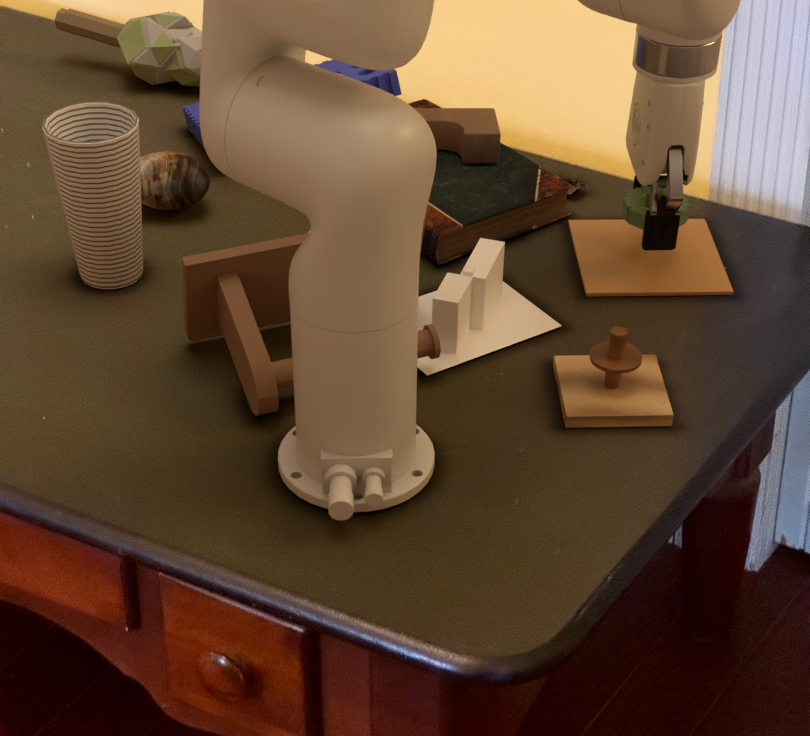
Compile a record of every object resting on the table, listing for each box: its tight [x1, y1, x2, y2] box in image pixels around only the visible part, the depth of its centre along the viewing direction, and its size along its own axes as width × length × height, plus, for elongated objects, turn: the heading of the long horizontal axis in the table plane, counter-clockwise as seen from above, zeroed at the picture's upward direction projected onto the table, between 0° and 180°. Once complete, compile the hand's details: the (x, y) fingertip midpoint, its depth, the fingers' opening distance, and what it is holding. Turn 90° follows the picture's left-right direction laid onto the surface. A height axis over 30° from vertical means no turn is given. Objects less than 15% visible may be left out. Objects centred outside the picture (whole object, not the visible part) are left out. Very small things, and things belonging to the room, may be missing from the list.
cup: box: [41, 101, 144, 290], centre depth 133 cm, size 8×8×16 cm
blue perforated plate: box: [181, 59, 402, 150], centre depth 157 cm, size 25×24×3 cm
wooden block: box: [414, 107, 502, 163], centre depth 149 cm, size 7×3×15 cm
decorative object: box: [54, 7, 202, 87], centre depth 169 cm, size 9×10×25 cm
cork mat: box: [567, 218, 734, 297], centre depth 142 cm, size 14×14×1 cm
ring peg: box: [552, 326, 674, 429], centre depth 122 cm, size 9×9×7 cm
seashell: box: [140, 150, 211, 211], centre depth 146 cm, size 10×6×8 cm
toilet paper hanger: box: [181, 218, 441, 417], centre depth 124 cm, size 22×13×10 cm, turn 111°
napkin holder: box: [417, 238, 563, 376], centre depth 131 cm, size 15×11×6 cm
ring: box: [621, 186, 690, 230], centre depth 138 cm, size 6×6×2 cm
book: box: [408, 98, 574, 265], centre depth 150 cm, size 17×4×25 cm
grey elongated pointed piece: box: [552, 172, 589, 195], centre depth 152 cm, size 6×2×3 cm
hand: (652, 229), depth 140 cm, fingers closed on ring, 6 cm apart
